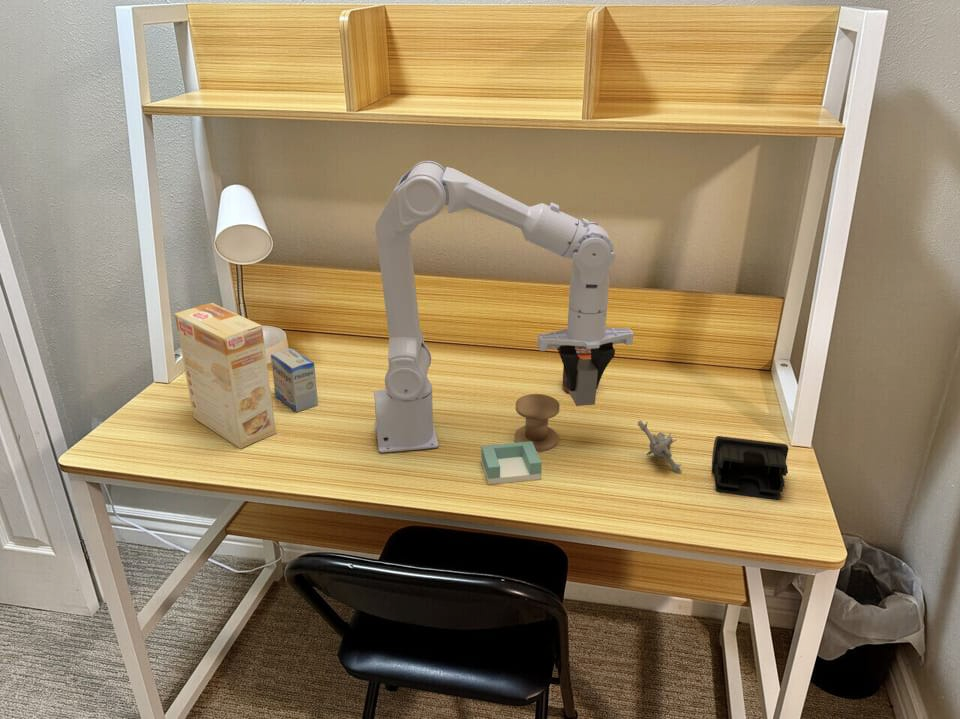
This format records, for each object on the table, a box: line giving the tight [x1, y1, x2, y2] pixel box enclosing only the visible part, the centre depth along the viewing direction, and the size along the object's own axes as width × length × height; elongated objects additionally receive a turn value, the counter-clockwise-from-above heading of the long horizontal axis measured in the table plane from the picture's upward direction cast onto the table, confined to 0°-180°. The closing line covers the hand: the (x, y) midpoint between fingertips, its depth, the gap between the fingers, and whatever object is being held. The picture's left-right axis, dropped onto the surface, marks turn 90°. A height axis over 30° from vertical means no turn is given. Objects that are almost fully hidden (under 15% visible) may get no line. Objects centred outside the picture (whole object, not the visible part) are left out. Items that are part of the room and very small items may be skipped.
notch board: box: [480, 441, 543, 485], centre depth 114 cm, size 8×6×3 cm
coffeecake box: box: [174, 302, 277, 450], centre depth 123 cm, size 15×7×20 cm, turn 48°
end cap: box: [711, 435, 790, 501], centre depth 111 cm, size 10×7×7 cm
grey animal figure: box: [637, 420, 683, 475], centre depth 117 cm, size 10×6×9 cm
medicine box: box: [270, 347, 319, 413], centre depth 133 cm, size 8×4×9 cm, turn 42°
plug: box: [568, 359, 598, 407], centre depth 118 cm, size 3×4×6 cm
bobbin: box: [514, 393, 560, 452], centre depth 122 cm, size 7×7×7 cm
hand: (582, 387), depth 118 cm, fingers closed on plug, 3 cm apart
